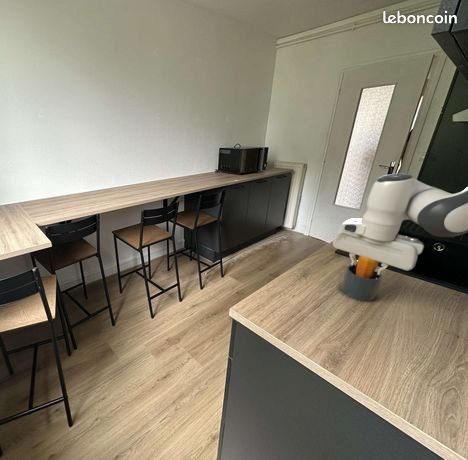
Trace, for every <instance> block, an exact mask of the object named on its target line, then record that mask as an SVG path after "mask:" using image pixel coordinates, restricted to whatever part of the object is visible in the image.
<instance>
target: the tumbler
mask: <svg viewBox="0 0 468 460" xmlns="http://www.w3.org/2000/svg"><path fill="white" fill-rule="evenodd" d="M382 279H383V274H382V273H381V274H380V275H377V274H373V275H372V277H371V278H370V279H367V278H363V277H360V276H357V275H356V267H354V266H351V264H350V265H349V264H348V265H347V266H346V269H345V273H344V276H343V280H342V282H341V287H340V289H341V291H342V292H343V293H344V294H345V295H346V296H348V297H350V298H351V299H354V300H358V301H363V302H370V301H373V300H375V298H376V296H377V293H378V291H379V287H380V284H381V282H382Z"/></svg>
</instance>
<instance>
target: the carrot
mask: <svg viewBox="0 0 468 460" xmlns="http://www.w3.org/2000/svg"><path fill="white" fill-rule="evenodd" d="M357 260H358V262H357V266H356V275H357V276H360V277H363V278H367V279H370V278H371V277H372V275H373V274H374V270H375V268H376V267H378V265H379V263H380V262H378V261H375V260H372V259H370V258H367V257H362V256H359V255H358V259H357Z"/></svg>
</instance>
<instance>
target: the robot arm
mask: <svg viewBox="0 0 468 460" xmlns="http://www.w3.org/2000/svg"><path fill="white" fill-rule="evenodd" d="M365 207H366V210H365V212H364V213H363V215H362V218H349V219H348V220H344V222H342V223H341V224H340V229H339V230H337V231H336V233H335V235H334V238H333V241H332V246H333V248H334V249H337V250H340V251H343V252H347V253H348V254H349V258H350V260H351V262H350V265H351V266H354V267H356V266H357V262H358V259H357V257H356V256H358V257H359V256H362V257H367V258H370V259H372V260H375V261H378V262H379V263H381V265H380V266H381V267H380V266H377V267H376V268H375V270H374V274H377V275H380V274H382V272H383V270H385V269H387V268H388V267H389V266H390V267H394V268H397V269H401V270H403V271H411V270H413V269H415V266H416V265H417V261H418V257H419V255H421V254H422V253H423V251H424V248H425V245H424V243H423V242H422V241H420V240H419V239H418V238H415V237H409V236H407V235H403V234H399V232H400V229H401V226H402V223H403V221H405V220H406V221H407V220H410V221H412V222H413V223H415V224H417V225H418V226H419V227H421V228H422V229H424V231H426V232H427V233H428V234H430V235H432V236H434V237H439V238H452V237H453V238H454V237H457V236H461V235H464V234H466V233H468V186H467V187H466V188H465V189H464V190H462V191H460V192H456V193H450V192H448V191H445V190H443V189H440V188H438V187H435V186H431V185H428V184H426V183H424V182H422V181H420V180H418V179H416V178H415V177H414V176H413V175H412V174H407V173H392V174H391V173H390V174H385V175H382V176H379V177H378V178H377V179H376V180H375V182H374V183H373V185H372V187H371V189H370V191H369V194H368V197H367V200H366V205H365Z"/></svg>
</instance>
